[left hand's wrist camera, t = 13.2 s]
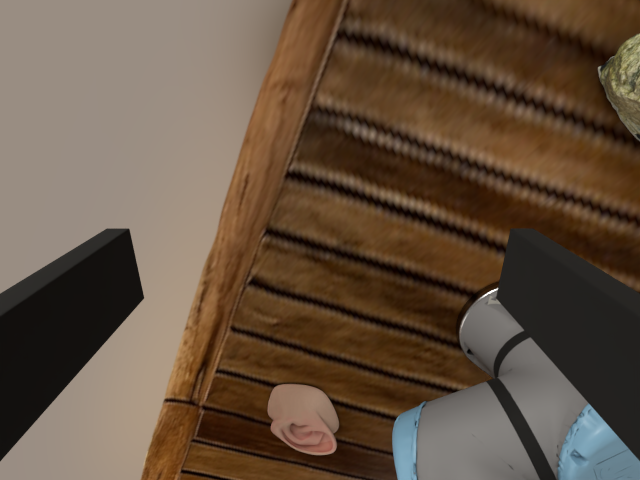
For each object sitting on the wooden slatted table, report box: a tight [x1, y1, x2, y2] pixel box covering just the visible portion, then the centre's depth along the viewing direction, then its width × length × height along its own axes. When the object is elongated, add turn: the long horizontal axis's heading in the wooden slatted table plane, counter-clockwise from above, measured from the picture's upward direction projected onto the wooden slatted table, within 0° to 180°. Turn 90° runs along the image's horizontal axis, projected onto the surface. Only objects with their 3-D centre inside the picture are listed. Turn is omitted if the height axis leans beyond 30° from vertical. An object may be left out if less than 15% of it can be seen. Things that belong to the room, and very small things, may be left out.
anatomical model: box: [268, 384, 339, 455], centre depth 58 cm, size 13×4×12 cm
